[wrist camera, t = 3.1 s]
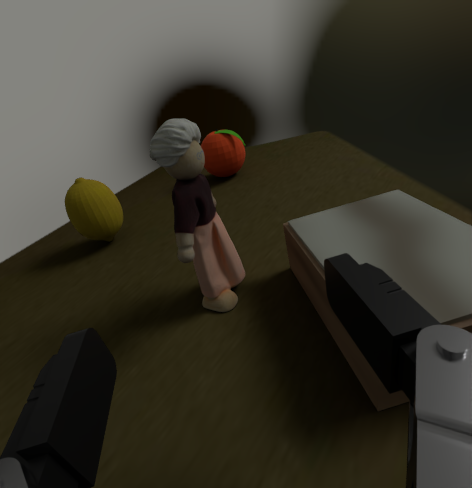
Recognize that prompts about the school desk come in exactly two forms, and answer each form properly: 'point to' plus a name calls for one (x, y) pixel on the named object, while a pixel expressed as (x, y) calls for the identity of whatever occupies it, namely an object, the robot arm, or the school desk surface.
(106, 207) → the lemon
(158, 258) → the school desk surface
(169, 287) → the school desk surface
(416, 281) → the plinth
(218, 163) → the clementine
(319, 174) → the school desk surface
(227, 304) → the grandmother figurine
